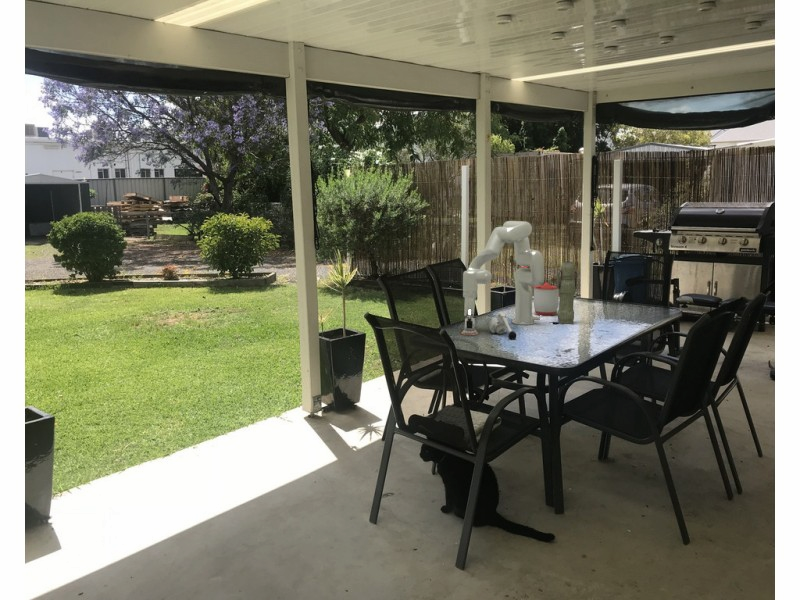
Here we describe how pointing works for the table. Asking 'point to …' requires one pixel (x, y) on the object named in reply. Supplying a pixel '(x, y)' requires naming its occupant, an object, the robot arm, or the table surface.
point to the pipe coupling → (470, 331)
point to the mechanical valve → (501, 325)
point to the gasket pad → (469, 334)
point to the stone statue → (566, 292)
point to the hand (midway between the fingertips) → (469, 326)
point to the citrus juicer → (546, 299)
